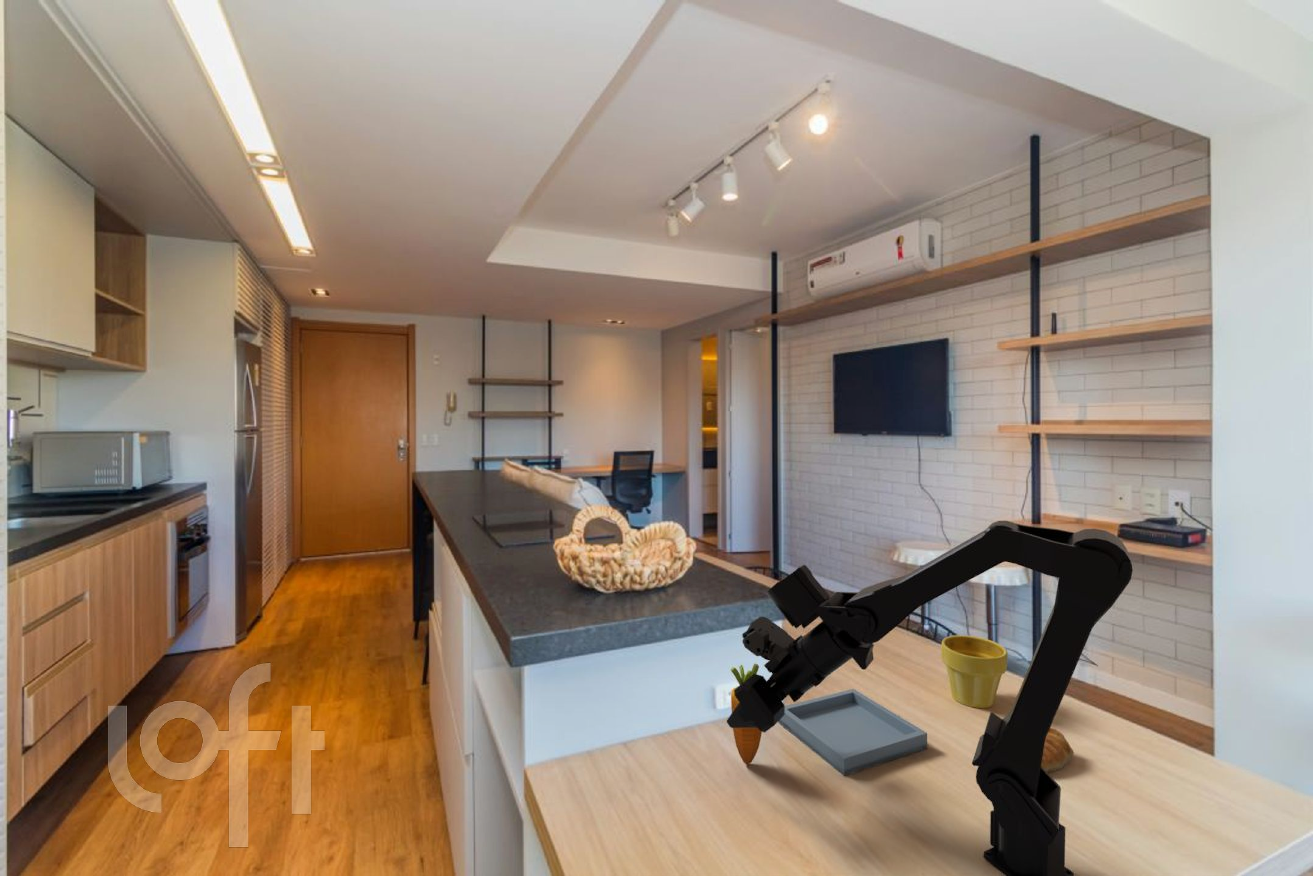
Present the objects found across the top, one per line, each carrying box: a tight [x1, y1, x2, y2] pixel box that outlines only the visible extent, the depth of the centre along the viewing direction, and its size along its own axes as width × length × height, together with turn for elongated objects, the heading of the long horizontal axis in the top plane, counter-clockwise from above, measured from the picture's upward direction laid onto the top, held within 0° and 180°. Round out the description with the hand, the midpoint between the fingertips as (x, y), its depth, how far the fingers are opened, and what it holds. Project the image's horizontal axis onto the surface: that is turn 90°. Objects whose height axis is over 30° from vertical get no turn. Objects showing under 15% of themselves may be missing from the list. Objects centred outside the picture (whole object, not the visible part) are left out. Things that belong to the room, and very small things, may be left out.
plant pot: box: [940, 634, 1008, 709], centre depth 106 cm, size 10×10×10 cm
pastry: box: [1041, 727, 1075, 773], centre depth 88 cm, size 9×7×4 cm
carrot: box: [730, 663, 763, 766], centre depth 87 cm, size 5×5×15 cm
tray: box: [777, 688, 928, 777], centre depth 95 cm, size 16×16×2 cm
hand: (744, 710), depth 87 cm, fingers open, 9 cm apart
